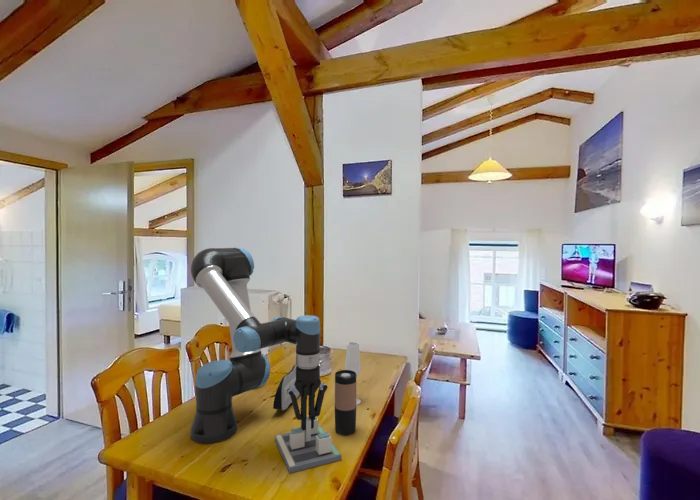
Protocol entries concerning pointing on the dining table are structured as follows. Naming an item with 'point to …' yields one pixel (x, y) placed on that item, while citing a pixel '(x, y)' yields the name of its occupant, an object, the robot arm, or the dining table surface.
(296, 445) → the breaker
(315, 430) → the breaker
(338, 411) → the travel mug
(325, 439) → the breaker
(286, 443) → the breaker board
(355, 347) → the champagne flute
